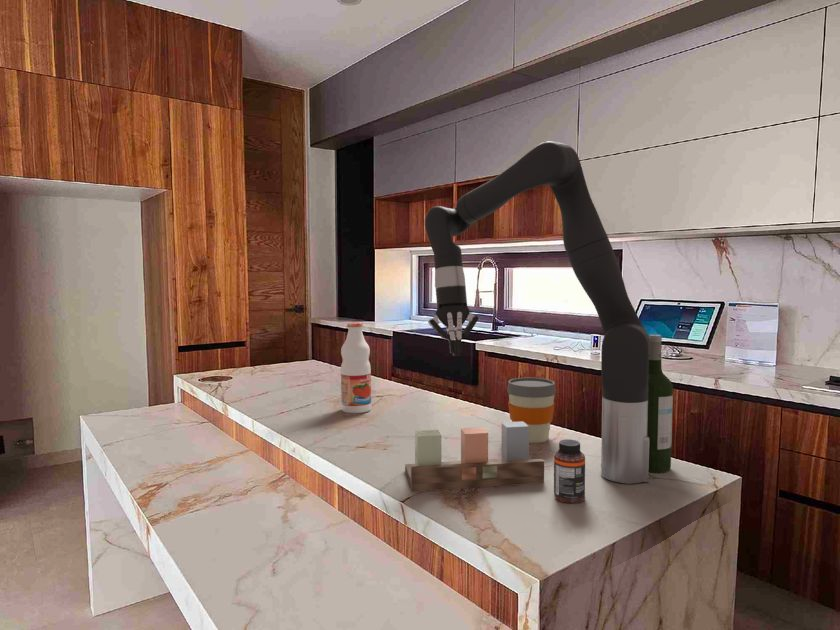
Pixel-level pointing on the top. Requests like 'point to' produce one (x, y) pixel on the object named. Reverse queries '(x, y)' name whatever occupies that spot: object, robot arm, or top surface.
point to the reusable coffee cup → (532, 405)
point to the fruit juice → (355, 371)
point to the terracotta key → (474, 445)
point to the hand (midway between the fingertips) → (456, 355)
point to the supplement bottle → (569, 472)
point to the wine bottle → (659, 411)
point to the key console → (474, 474)
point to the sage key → (427, 448)
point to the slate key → (515, 441)
